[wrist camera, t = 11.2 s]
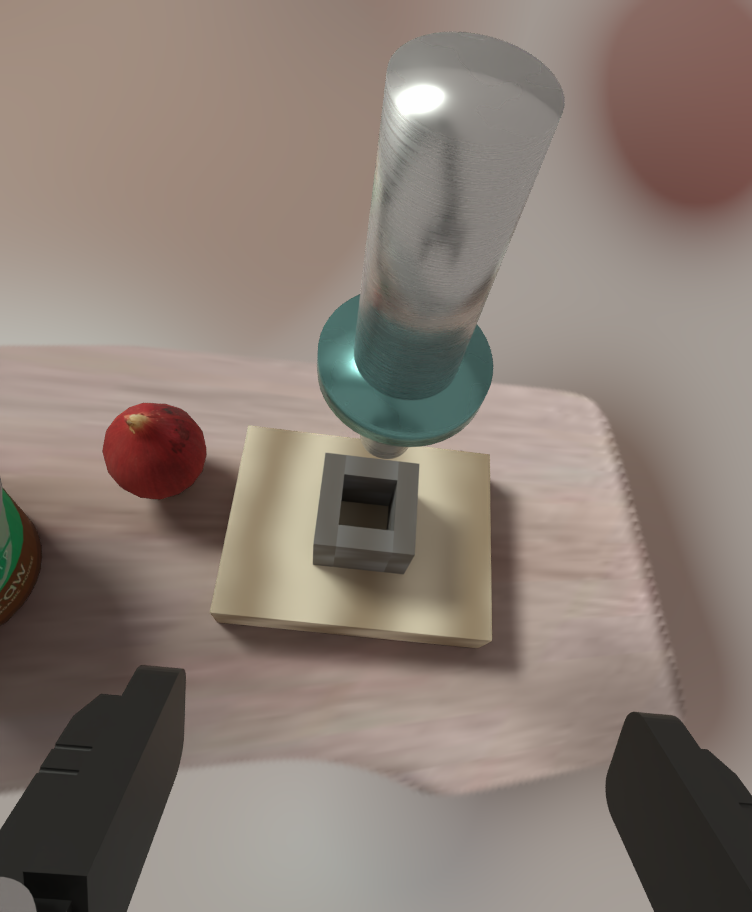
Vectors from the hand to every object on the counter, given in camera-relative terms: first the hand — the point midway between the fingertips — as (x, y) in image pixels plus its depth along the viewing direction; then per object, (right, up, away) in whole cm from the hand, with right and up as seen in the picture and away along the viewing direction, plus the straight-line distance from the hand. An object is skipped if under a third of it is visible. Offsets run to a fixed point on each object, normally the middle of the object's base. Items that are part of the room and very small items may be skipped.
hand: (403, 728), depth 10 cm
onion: (-14, +4, +28) cm, 32 cm away
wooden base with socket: (-2, -1, +27) cm, 27 cm away
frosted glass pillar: (0, +6, +14) cm, 15 cm away
